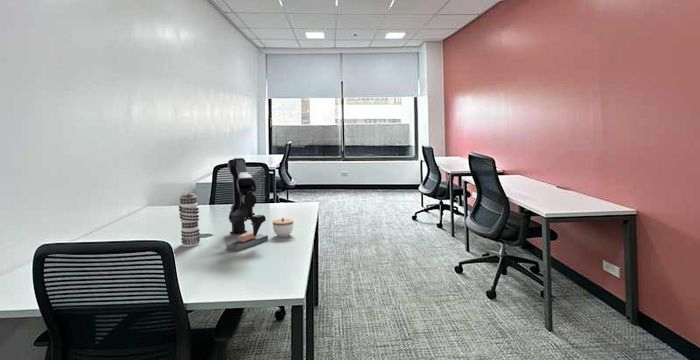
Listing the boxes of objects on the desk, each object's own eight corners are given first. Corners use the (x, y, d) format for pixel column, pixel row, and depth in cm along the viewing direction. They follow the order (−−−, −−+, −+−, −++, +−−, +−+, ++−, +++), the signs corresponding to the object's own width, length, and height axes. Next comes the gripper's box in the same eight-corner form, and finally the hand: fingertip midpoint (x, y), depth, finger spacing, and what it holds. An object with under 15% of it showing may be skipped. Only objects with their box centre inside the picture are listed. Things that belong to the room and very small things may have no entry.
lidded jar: (284, 239, 215) (283, 221, 214) (268, 236, 220) (268, 218, 219) (297, 234, 224) (297, 217, 223) (282, 232, 229) (281, 215, 228)
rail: (226, 249, 197) (226, 244, 197) (258, 238, 216) (258, 234, 216) (236, 251, 194) (235, 246, 194) (268, 240, 213) (267, 235, 213)
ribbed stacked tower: (180, 243, 210) (177, 193, 207) (200, 240, 214) (197, 191, 210) (181, 247, 202) (177, 195, 199) (201, 245, 205) (198, 194, 202)
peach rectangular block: (239, 246, 202) (238, 235, 201) (252, 242, 210) (251, 231, 209) (243, 247, 200) (243, 236, 200) (256, 243, 208) (256, 232, 207)
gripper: (219, 204, 200) (221, 236, 202) (249, 207, 191) (250, 241, 193) (236, 200, 210) (238, 231, 212) (265, 203, 200) (266, 235, 202)
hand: (247, 235), depth 204 cm, fingers open, 9 cm apart
